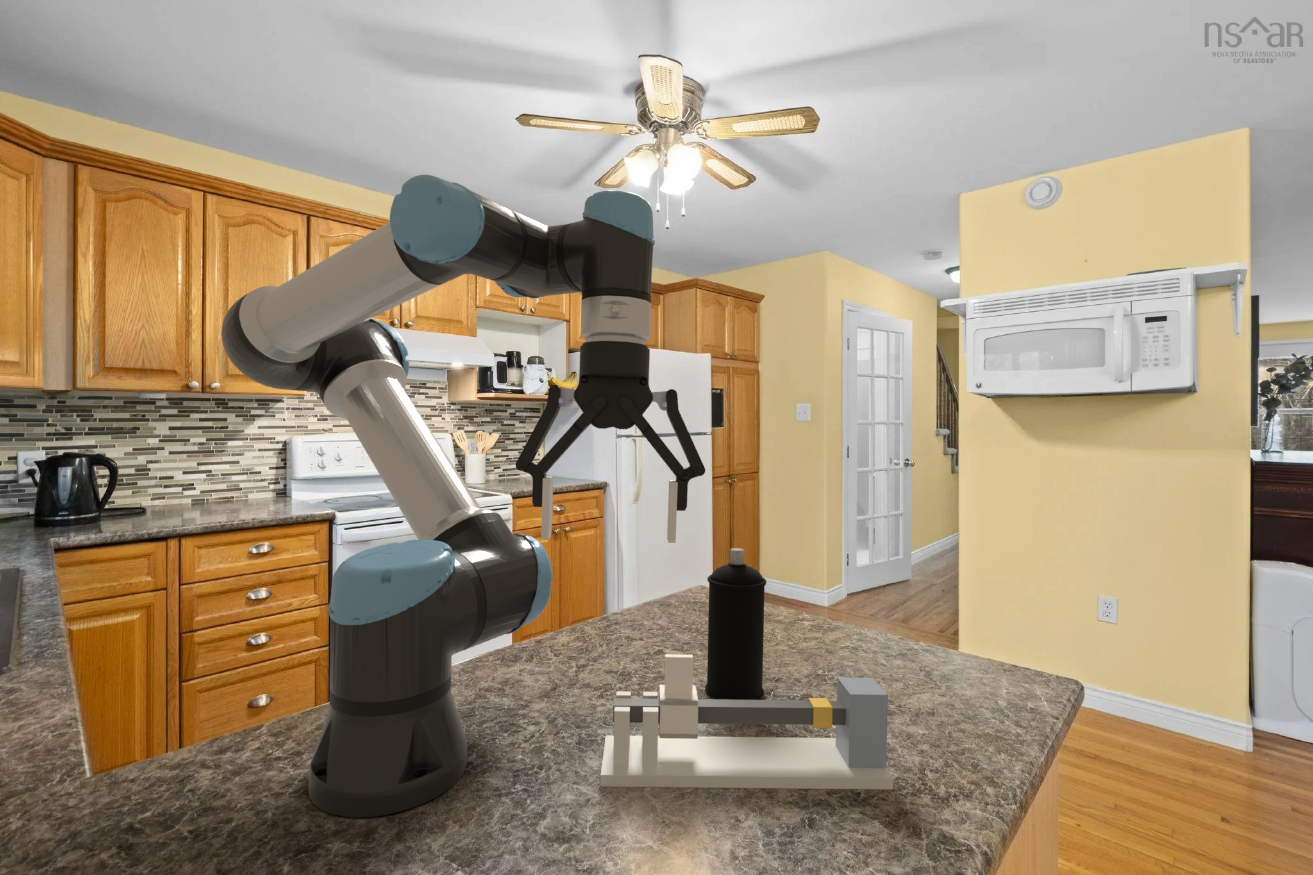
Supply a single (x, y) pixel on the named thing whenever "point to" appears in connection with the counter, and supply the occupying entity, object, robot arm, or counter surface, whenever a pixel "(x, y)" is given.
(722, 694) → the aerosol can
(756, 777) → the grey rod on board
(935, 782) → the counter surface
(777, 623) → the counter surface
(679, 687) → the sleeve
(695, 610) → the counter surface
